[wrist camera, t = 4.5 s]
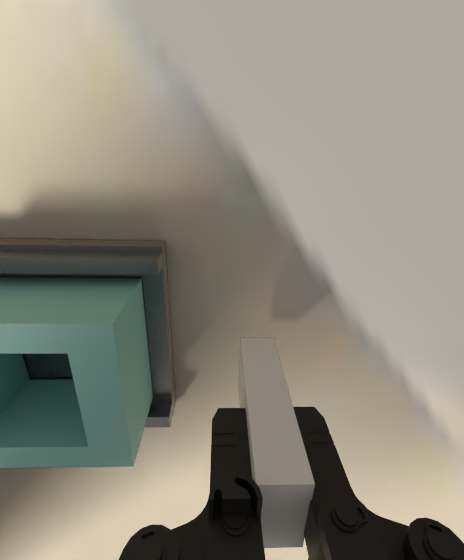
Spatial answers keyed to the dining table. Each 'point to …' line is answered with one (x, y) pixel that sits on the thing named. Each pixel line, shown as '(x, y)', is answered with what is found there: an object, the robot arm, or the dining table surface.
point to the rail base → (104, 264)
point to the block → (73, 372)
